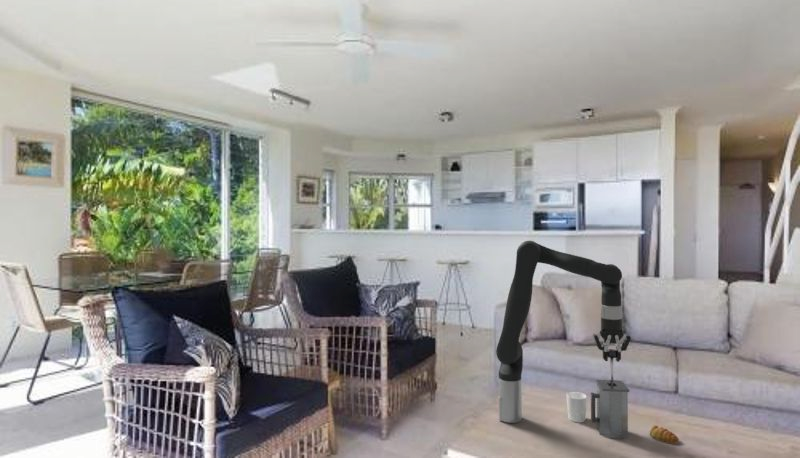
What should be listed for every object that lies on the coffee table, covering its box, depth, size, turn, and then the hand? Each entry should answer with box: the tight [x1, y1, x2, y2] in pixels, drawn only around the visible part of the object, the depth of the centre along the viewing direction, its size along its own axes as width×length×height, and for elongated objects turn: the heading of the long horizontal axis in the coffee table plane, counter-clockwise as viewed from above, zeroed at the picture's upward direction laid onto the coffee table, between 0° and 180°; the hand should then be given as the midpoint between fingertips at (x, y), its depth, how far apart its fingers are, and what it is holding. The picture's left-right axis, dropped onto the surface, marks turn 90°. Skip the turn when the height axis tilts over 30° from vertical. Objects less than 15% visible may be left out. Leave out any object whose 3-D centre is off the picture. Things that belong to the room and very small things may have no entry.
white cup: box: [565, 391, 588, 423], centre depth 194 cm, size 8×8×10 cm
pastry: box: [649, 425, 680, 445], centre depth 176 cm, size 9×7×4 cm
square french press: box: [590, 379, 630, 440], centre depth 182 cm, size 13×10×19 cm
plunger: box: [607, 348, 617, 386], centre depth 181 cm, size 8×8×15 cm
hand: (611, 360), depth 181 cm, fingers closed on plunger, 3 cm apart
